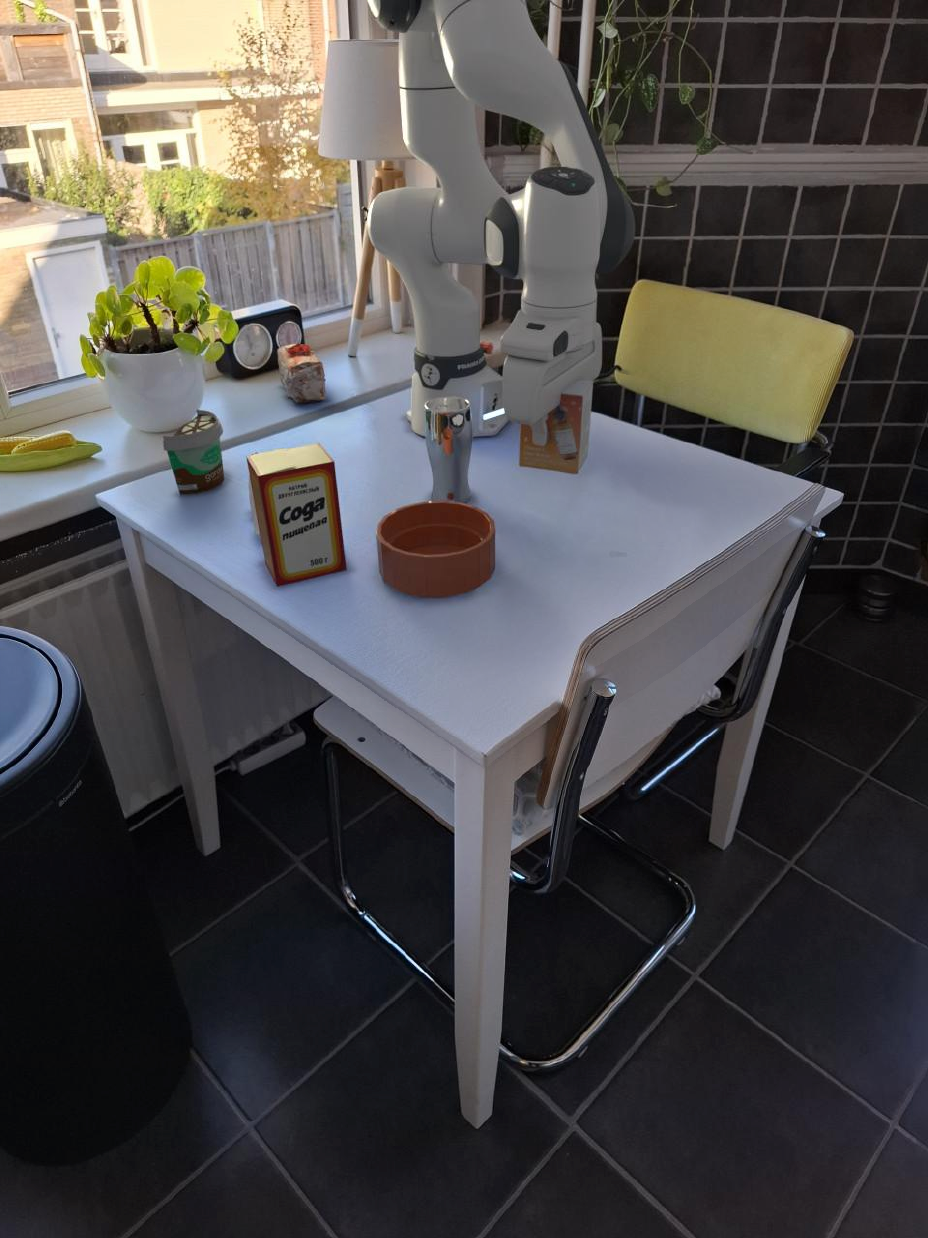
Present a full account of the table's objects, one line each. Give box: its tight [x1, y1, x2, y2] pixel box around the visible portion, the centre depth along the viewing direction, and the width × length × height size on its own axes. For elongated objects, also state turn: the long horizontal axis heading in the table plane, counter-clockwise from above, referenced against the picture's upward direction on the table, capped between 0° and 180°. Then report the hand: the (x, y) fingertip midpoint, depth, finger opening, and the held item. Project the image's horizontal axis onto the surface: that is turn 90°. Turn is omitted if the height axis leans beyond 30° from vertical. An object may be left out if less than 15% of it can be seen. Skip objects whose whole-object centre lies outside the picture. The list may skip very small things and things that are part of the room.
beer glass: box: [424, 396, 473, 504], centre depth 129 cm, size 7×7×15 cm
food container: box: [162, 409, 225, 495], centre depth 137 cm, size 12×6×10 cm, turn 168°
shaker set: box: [248, 451, 261, 538], centre depth 123 cm, size 12×4×11 cm, turn 14°
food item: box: [277, 342, 327, 404], centre depth 171 cm, size 14×8×10 cm, turn 24°
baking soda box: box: [245, 442, 348, 588], centre depth 112 cm, size 10×6×16 cm
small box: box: [518, 380, 594, 476], centre depth 110 cm, size 8×6×10 cm
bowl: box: [375, 500, 496, 599], centre depth 113 cm, size 15×15×6 cm
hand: (554, 432), depth 111 cm, fingers closed on small box, 6 cm apart
